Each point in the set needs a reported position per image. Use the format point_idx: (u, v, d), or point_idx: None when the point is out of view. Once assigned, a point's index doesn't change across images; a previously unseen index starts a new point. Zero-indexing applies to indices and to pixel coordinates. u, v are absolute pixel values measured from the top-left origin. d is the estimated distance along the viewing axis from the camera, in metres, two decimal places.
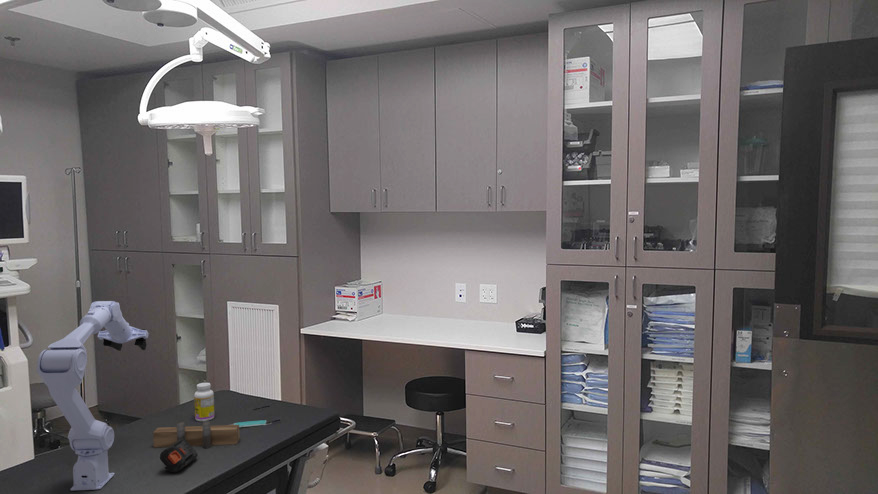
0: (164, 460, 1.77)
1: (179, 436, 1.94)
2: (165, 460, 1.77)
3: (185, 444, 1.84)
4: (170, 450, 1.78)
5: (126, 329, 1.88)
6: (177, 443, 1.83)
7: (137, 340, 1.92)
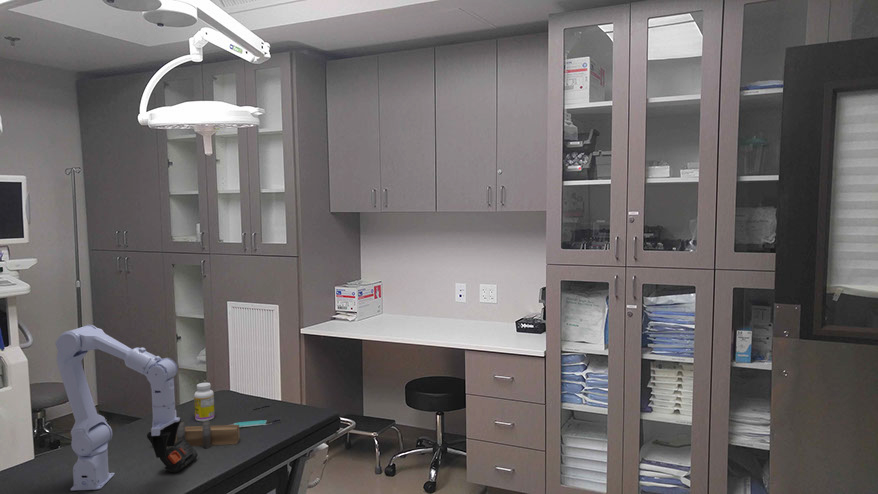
0: (164, 460, 1.77)
1: (179, 436, 1.94)
2: (165, 460, 1.77)
3: (185, 444, 1.84)
4: (170, 450, 1.78)
5: (157, 410, 1.66)
6: (177, 443, 1.83)
7: None
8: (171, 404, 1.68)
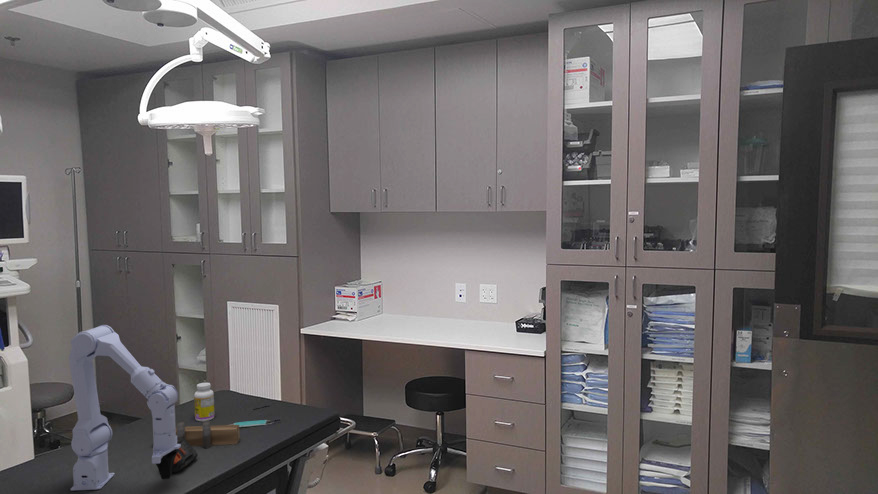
0: None
1: (179, 436, 1.94)
2: None
3: (185, 444, 1.84)
4: None
5: (158, 437, 1.67)
6: (177, 443, 1.83)
7: None
8: (172, 431, 1.69)
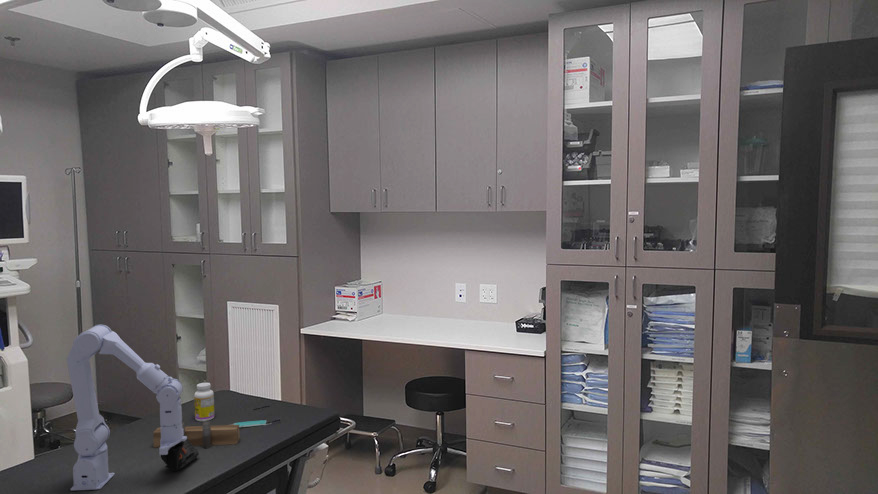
0: None
1: None
2: None
3: (186, 443, 1.84)
4: None
5: (165, 430, 1.72)
6: None
7: None
8: (178, 424, 1.74)
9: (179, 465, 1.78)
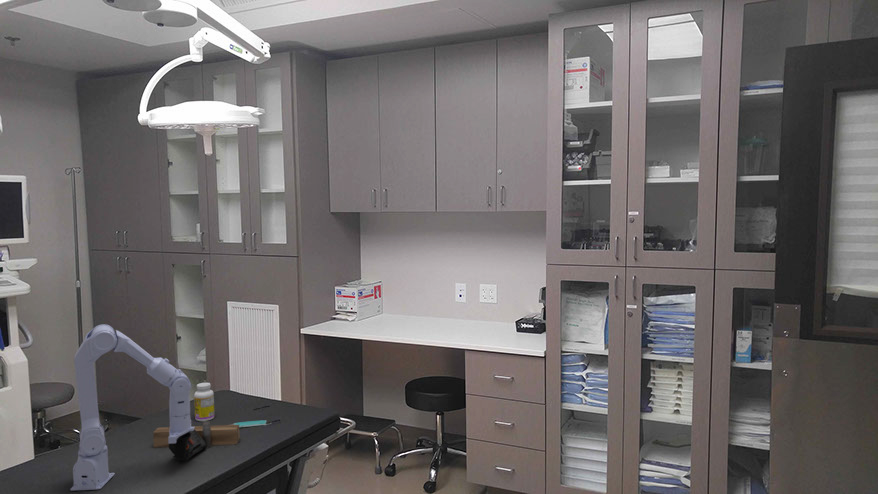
0: (172, 449, 1.85)
1: None
2: (173, 448, 1.85)
3: (193, 434, 1.91)
4: None
5: (174, 420, 1.80)
6: None
7: None
8: (187, 414, 1.82)
9: (186, 455, 1.85)
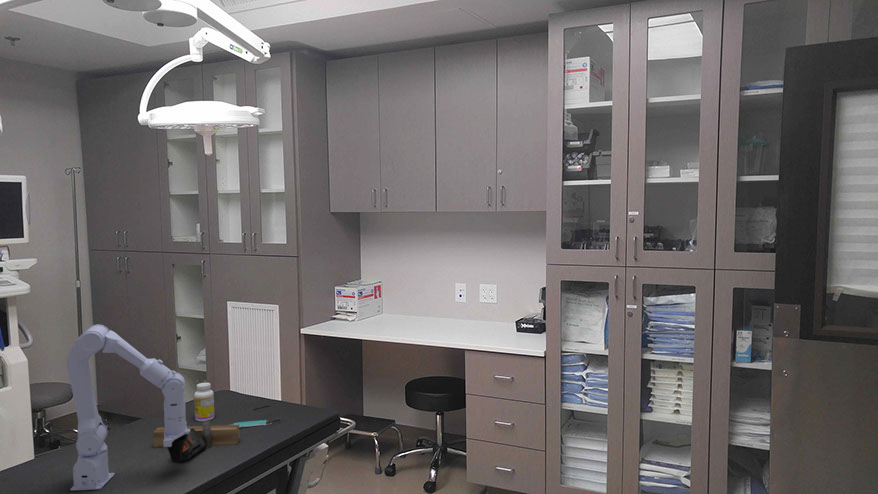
0: None
1: None
2: None
3: (193, 434, 1.91)
4: None
5: (169, 422, 1.76)
6: None
7: None
8: (182, 417, 1.77)
9: (185, 455, 1.85)
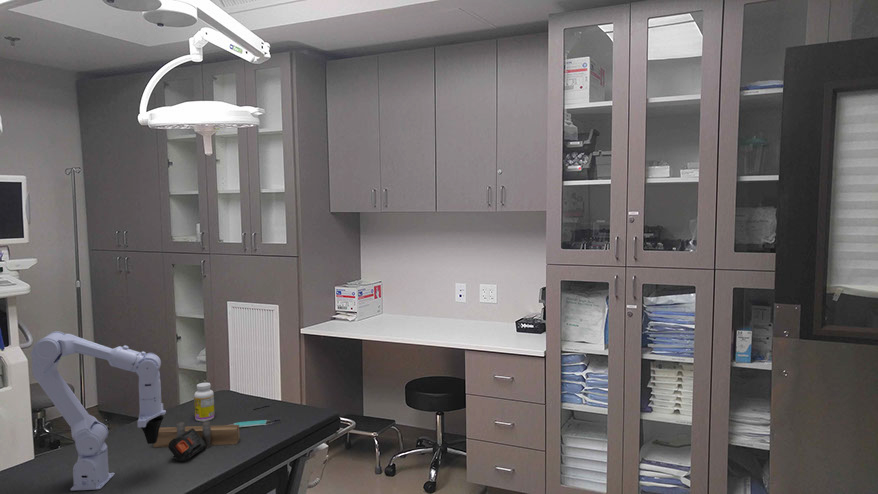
0: (172, 449, 1.85)
1: None
2: (173, 449, 1.85)
3: (193, 434, 1.91)
4: (178, 440, 1.85)
5: (144, 403, 1.73)
6: (186, 433, 1.91)
7: None
8: (157, 397, 1.74)
9: (185, 456, 1.85)
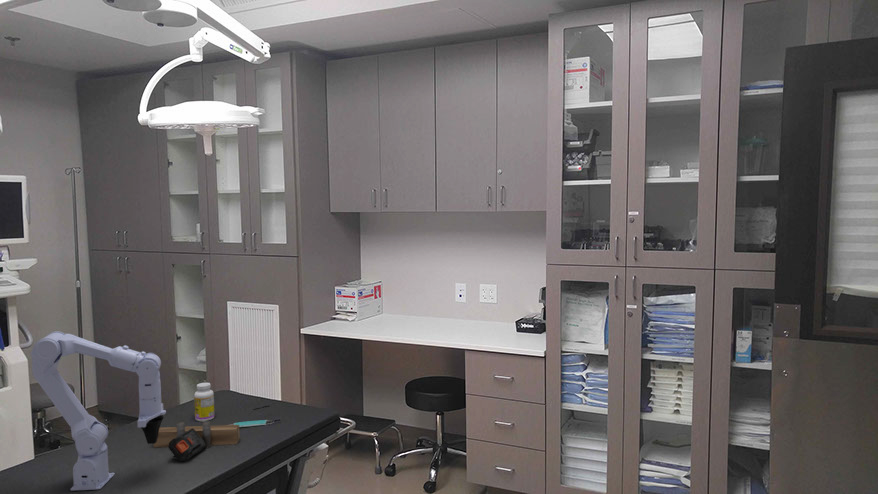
0: (172, 449, 1.85)
1: None
2: (173, 449, 1.85)
3: (193, 434, 1.91)
4: (178, 439, 1.85)
5: (144, 403, 1.73)
6: (186, 433, 1.91)
7: None
8: (157, 397, 1.74)
9: (185, 455, 1.85)
